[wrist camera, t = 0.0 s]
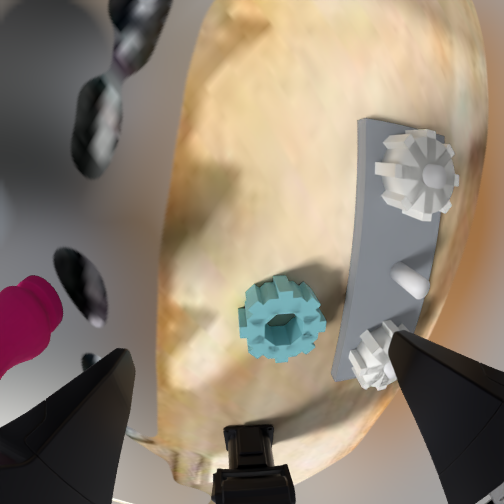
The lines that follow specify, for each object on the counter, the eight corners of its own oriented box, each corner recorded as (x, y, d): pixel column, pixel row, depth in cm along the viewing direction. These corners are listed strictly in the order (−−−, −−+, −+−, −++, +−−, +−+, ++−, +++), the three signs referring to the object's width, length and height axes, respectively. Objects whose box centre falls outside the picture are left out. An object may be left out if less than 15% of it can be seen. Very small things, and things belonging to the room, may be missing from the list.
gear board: (396, 359, 29) (416, 388, 23) (330, 373, 28) (346, 407, 23) (434, 136, 20) (473, 136, 15) (357, 120, 20) (392, 112, 14)
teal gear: (312, 339, 26) (320, 358, 23) (239, 344, 25) (241, 365, 23) (319, 273, 24) (330, 288, 21) (237, 277, 23) (238, 293, 20)
